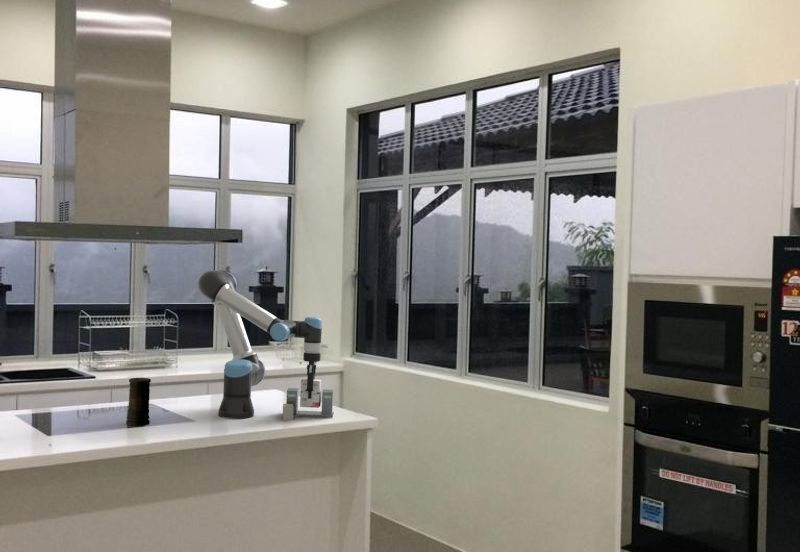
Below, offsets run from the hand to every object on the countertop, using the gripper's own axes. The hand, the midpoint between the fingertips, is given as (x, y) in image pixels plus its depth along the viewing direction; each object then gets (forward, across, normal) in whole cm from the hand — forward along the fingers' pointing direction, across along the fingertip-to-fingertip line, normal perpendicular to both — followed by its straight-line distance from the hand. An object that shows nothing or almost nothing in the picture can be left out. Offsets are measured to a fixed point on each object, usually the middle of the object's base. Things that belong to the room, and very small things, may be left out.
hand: (310, 404), depth 351 cm
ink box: (+1, 0, 0) cm, 1 cm away
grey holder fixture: (+5, 0, 0) cm, 5 cm away
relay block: (+5, -10, +9) cm, 14 cm away
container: (+5, -31, +66) cm, 73 cm away
